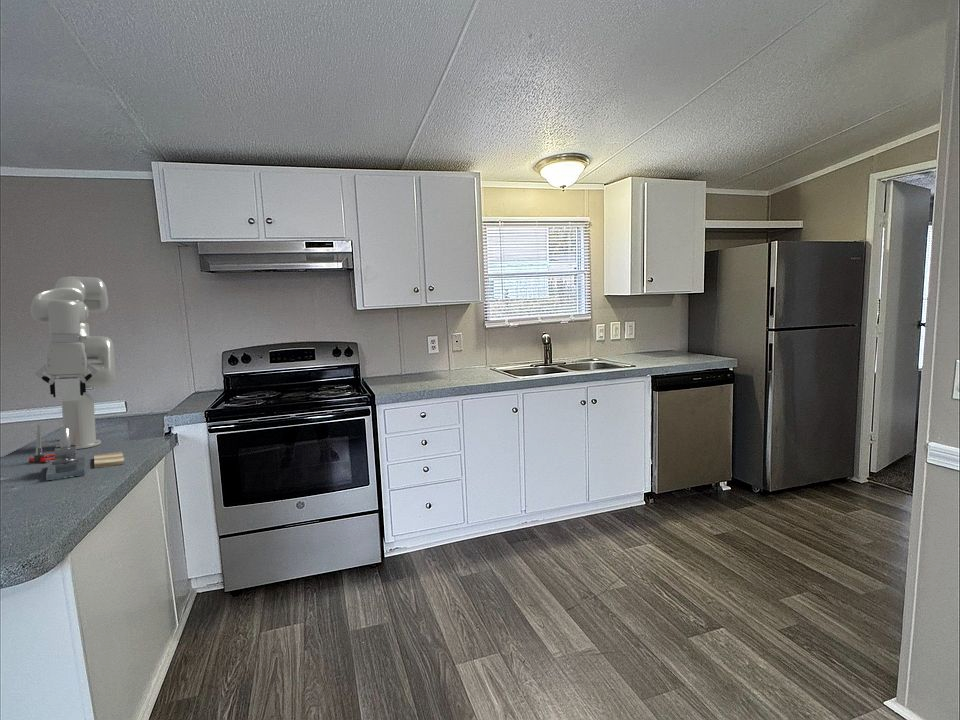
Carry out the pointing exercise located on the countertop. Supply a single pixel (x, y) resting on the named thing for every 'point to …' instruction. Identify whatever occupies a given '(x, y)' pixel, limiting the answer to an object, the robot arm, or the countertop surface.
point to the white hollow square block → (67, 388)
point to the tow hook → (40, 450)
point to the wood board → (108, 459)
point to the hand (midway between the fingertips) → (68, 395)
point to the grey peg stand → (65, 459)
